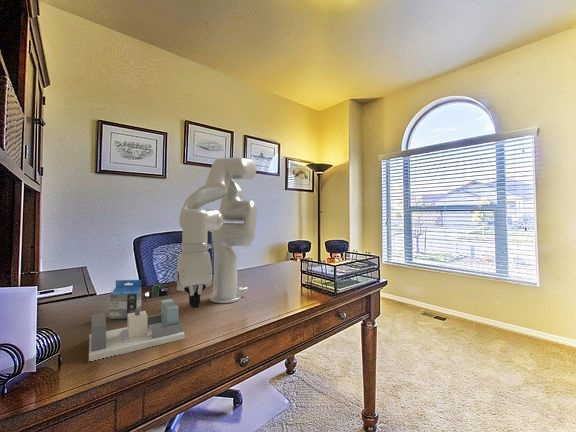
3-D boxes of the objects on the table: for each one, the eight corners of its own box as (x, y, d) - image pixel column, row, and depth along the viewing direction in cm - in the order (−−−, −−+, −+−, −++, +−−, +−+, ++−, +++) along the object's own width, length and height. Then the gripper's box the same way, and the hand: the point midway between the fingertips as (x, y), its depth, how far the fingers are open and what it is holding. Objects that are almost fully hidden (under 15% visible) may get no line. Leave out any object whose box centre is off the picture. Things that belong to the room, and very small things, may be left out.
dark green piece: (148, 290, 128) (148, 279, 128) (183, 289, 131) (183, 277, 130) (137, 301, 113) (137, 287, 113) (176, 299, 116) (176, 286, 116)
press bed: (173, 319, 89) (173, 300, 89) (183, 331, 79) (183, 311, 79) (91, 335, 76) (91, 314, 76) (91, 353, 67) (91, 328, 67)
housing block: (145, 327, 81) (145, 305, 81) (147, 333, 77) (147, 310, 77) (127, 331, 78) (127, 308, 78) (128, 337, 74) (128, 313, 74)
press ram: (171, 320, 87) (171, 299, 87) (178, 330, 80) (178, 307, 80) (160, 322, 85) (161, 300, 85) (167, 332, 78) (167, 308, 78)
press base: (172, 322, 90) (172, 317, 90) (184, 338, 78) (184, 333, 78) (89, 339, 77) (89, 334, 77) (88, 362, 66) (88, 355, 66)
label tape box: (108, 319, 92) (108, 282, 92) (115, 315, 96) (115, 279, 96) (136, 319, 93) (136, 282, 92) (141, 314, 97) (141, 279, 96)
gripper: (213, 246, 94) (213, 299, 94) (166, 248, 85) (166, 308, 86) (222, 248, 88) (221, 305, 88) (172, 251, 79) (172, 315, 79)
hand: (194, 306), depth 87 cm, fingers closed
